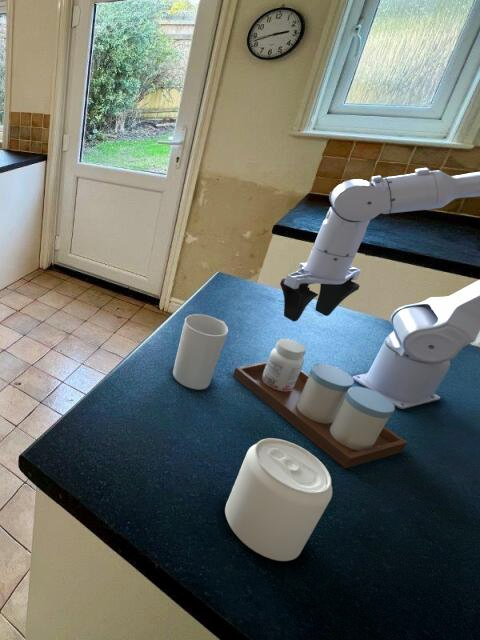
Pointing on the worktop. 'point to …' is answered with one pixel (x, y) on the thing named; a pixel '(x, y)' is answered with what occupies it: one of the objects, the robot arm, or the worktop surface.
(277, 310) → the worktop surface
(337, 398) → the white jar
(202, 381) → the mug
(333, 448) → the tray
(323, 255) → the robot arm
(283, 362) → the pill bottle
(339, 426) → the blue lidded jar
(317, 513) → the beverage can
